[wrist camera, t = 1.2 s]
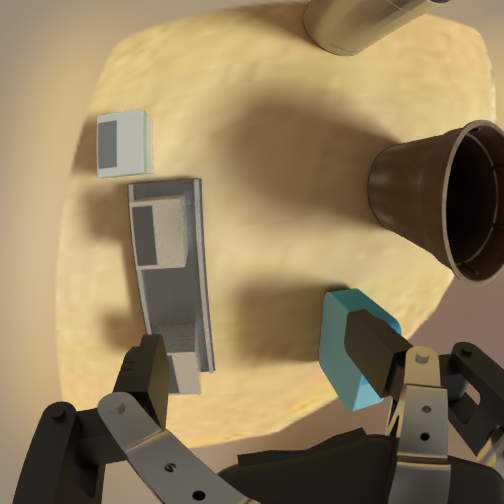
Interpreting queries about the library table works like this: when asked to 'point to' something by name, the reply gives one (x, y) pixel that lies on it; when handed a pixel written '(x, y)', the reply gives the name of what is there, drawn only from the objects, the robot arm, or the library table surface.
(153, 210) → the rail
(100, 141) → the block
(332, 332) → the data package
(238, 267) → the library table surface
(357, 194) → the library table surface
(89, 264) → the library table surface
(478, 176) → the plant pot
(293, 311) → the library table surface
